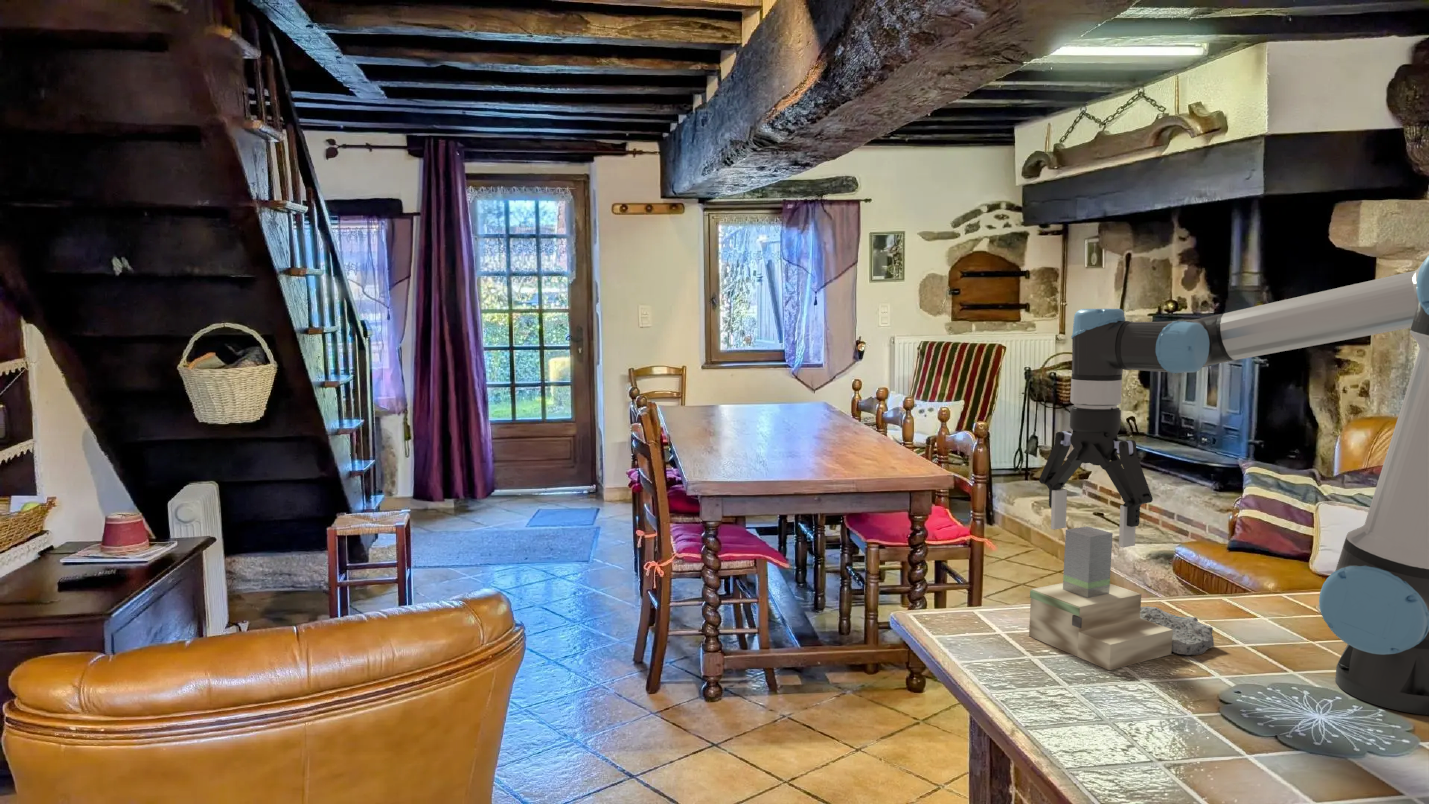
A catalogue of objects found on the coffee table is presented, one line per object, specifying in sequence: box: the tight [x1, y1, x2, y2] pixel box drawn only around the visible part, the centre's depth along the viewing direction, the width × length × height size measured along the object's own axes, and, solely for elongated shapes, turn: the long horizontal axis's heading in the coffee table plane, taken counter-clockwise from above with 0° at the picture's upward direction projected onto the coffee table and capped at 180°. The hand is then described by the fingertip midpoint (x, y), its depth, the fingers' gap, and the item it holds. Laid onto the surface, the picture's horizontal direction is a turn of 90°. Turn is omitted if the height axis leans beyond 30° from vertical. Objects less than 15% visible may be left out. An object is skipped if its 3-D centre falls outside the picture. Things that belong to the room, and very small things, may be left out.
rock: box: [1140, 606, 1215, 656], centre depth 156 cm, size 13×10×5 cm
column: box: [1062, 526, 1114, 598], centre depth 155 cm, size 5×5×10 cm
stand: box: [1028, 582, 1173, 671], centre depth 154 cm, size 16×14×8 cm
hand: (1091, 537), depth 155 cm, fingers open, 13 cm apart
